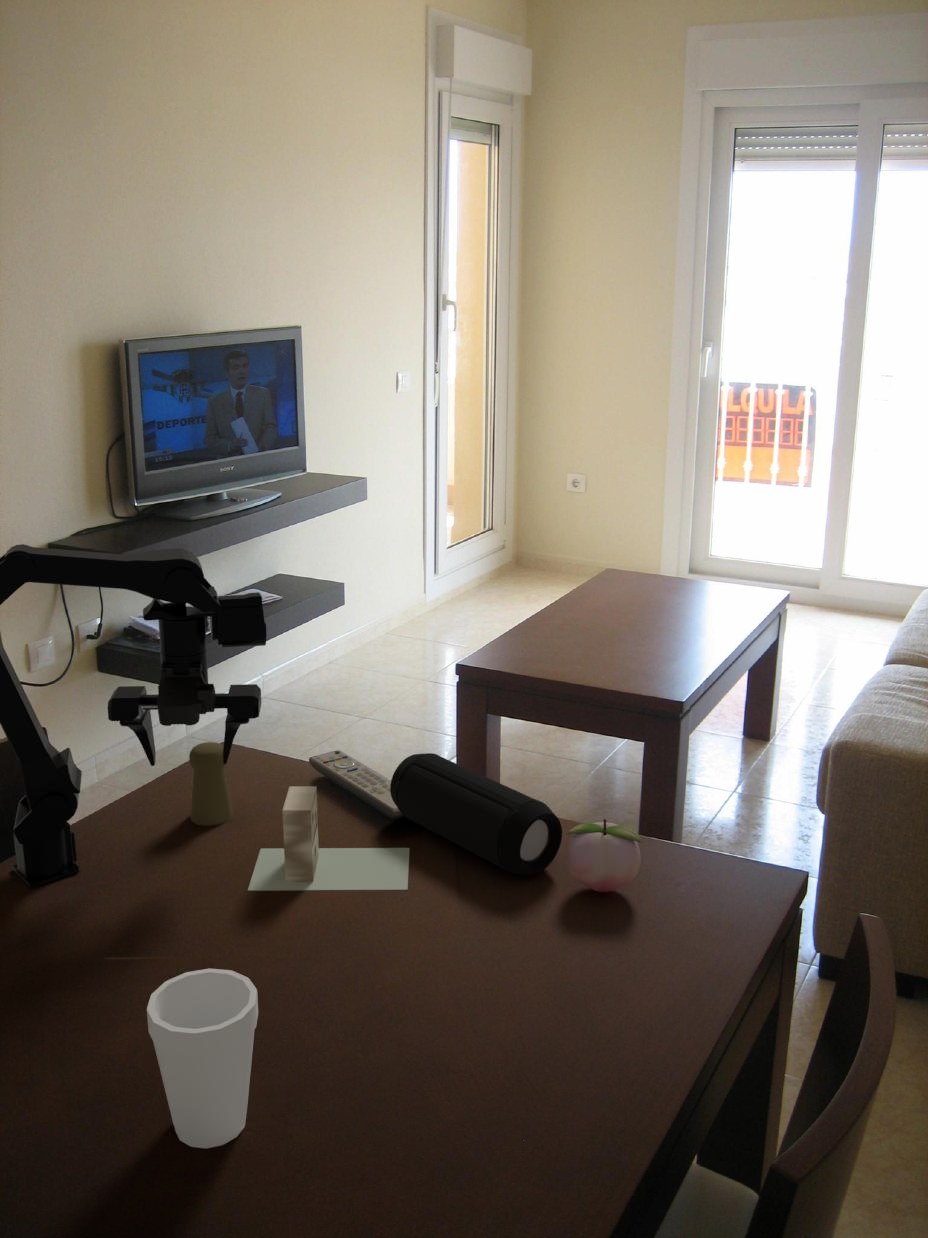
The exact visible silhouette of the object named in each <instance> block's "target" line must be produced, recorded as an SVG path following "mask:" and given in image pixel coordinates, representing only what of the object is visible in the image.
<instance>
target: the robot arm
mask: <svg viewBox="0 0 928 1238" xmlns="http://www.w3.org/2000/svg"><path fill="white" fill-rule="evenodd" d="M26 583H34V584H48V585H62V586H77V587H87V588H88V587H89V588H90V587H91V588H105V589H115V590H116V589H119V590H127V591H131V592H134V593H137V594H139V595H143V596H145V597H148V598H150V599H152V600H151V602H150V603H148V604H147V606H145V607H144V608H143V609H142V618H143V620H144V621H158V634H159V651H160V652H159V655H160V666H161V667H160V668H161V671H160V674H161V675H160V678H159V679H160V680H159V683H158V686H157V691H158V692H157V694H147V689H146V688H147V687H146V686H145V685H136V686H134V685H133V686H126V685H125V686H117V688H115V690H114V691H112V694H111V696H110V698H109V700H108V701H107V718H108V721H111V722H119V725H120V726H121V727H128V728H129V729H130V730H131V731H132V732H133V733H134V734H135V736H136V737H137V739H138V741H139V742H140V745H141V747H142V749H143V751H144V753H145V755H146V758H147V759H148V762H149V764H150V766H151V767H155V765H156V746H155V738H154V737H155V736H154V730H153V722H152V713H151V710H152V711H153V710H154V711H156V710H157V713H158V721H159V724H160V725H162V726H164V727H171V726H172V725H185V726H194V725H196V724H198V723H199V721H200V716H201V715H206V714H207V713H214V712H215V709H226V710H227V711H226V713H227V714H226V717H225V721H224V723H225V725H224V726H225V728H224V739H223V764H225V765H227V764H228V760H229V756H230V753H231V750H232V746H233V742H234V739H235V736H236V734H237V733H238V731H239V729H240V727H241V725H246V724H249V723H250V719H257V718H259V717H260V713H261V708H262V688H261V687H260V686H259V685H258V684H257V683H256V684H254V683H253V684H250V683H249V684H245V683H244V684H230V685H229V689H228V692H227V693H226V692H225V693H224V692H223V693H222V692H221V693H216V687H215V686H214V685H215V684H214V683H209V671H208V656H207V655H208V650H207V627H206V618H209V622H210V626H209V627H210V635H211V636H210V637H211V638H210V639H211V641H212V642H216V641H217V645H218V646H219V645H220V649H233V648H247V647H263V646H266V644H267V623H266V621H265V614H264V607H263V597H262V594H261V592H259V591H258V592H257V591H256V592H248V593H245V594H233V595H230V594H229V595H218V592H217V590H216V588H215V586H212V584H211V583H210V582H209V581H208V580H207V578H206V577H205V573H204V571H203V567H202V565H201V562H200V559H199V558H198V557H197V556H196V555H195V554H194V553H193V552H192V551H190V550H189V549H185V548H169V549H168V548H167V549H157V550H156V549H155V550H148V551H144V552H138V553H129V554H122V553H121V554H120V553H111V552H100V551H99V552H96V551H85V550H84V551H83V550H72V549H61V548H59V549H58V548H49V547H48V548H47V547H35V546H30V545H28V544H22V543H21V544H16V545H13V546H10V548H8V550H7V551H6V552H5V553H4V554H3V555H2V556H0V606H1V605H2V604H3V603H5V601H7V600H8V599H9V598H10V597H11V596H12V595H13V594H14V593H15V592H16V591H18V590H19V589H21V587H22V586H23V585H24V584H26ZM188 605H190V606H188ZM0 727H1V729H2V730H3V733H4V735H5V737H6V739H7V740H8V743H9V745H10V746H11V748H12V751H13V752H14V756H15V757H16V759H17V761H18V764H19V767H20V774H21V780H22V785H23V790H24V796H23V797H22V798H21V799H20V800H19V802H18V806H17V811H16V815H15V820H14V821H15V822H14V826H13V829H12V833H13V841H14V842H13V843H14V850H15V859H16V863H15V864H13V865H12V871H14V873H16V875H18V876H19V877H20V878H21V879H22V880H23V881H24V882H25V883H26V885H28V887H31V888H35V887H37V886H40V885H41V886H42V885H43V884H46V883H50V882H52V881H56V880H58V879H63V878H64V877H68V876H70V875H73V874H77V873H79V872H80V871H81V869H80V866H79V865H78V864H77V861H78V853H77V852H78V849H77V840H76V832H74V831H73V830H71V823H70V822H68V821H70V820H71V819H72V818H73V817H74V816H75V815H76V812H77V809H78V806H79V795H80V794H81V787H82V786H81V784H82V775H83V774H82V773H83V771H82V770H81V769H80V768H79V767H78V766H77V764H75V762H74V758H73V754H72V751H71V748H70V747H66V748H64V749H63V750H61V751H59V750H58V749H57V748H56V747H55V746H53V745H52V743H51V742H50V741H49V739H48V737H47V734H46V733H45V731H44V728H43V727H42V724H41V723H40V721H39V719H38V717H37V714H36V712H35V709H34V708H33V705H32V703H31V702H30V700H29V697H28V695H27V694H26V691H25V689H24V687H23V685H22V683H21V681H20V678H19V676H18V675H17V671H15V668H14V666H13V664H12V662H11V659H10V658H9V656H8V654H7V652H6V650H5V648H4V643H3V639H2V633H1V631H0Z"/></svg>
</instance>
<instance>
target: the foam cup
mask: <svg viewBox="0 0 928 1238" xmlns="http://www.w3.org/2000/svg"><path fill="white" fill-rule="evenodd" d="M258 998H259V997H258V989H257V988H256V986H255V984H253V982H252V981H251V979H250V978H249V977H247V976H245V975H243V974H241V973H238V972H237V971H234V970H232V969H231V970H230V969H219V968H209V967H208V968H205V969H197V970H193V971H185V972H184V973H182V974H179V975H176V976H175V977H172V978H169V979H168V980H165V981H164V982H163V983H162V984H161V985H160V986H159V987H158V988H156V989H155V990H154V991H153V992H151V994H150V998H149V1001H148V1004H147V1006H146V1016H147V1028H148V1029H147V1030H148V1034H149V1036H150V1038H151V1039H152V1042H153V1045H154V1050H155V1054H156V1059H157V1062H158V1067H159V1069H160V1070H159V1071H160V1075H161V1079H162V1083H163V1087H164V1091H165V1095H166V1101H167V1103H168V1108H169V1112H170V1115H171V1120H172V1124H173V1127H174V1131H175V1133H176V1135H177V1137H178V1140H179V1141H180V1142H182V1143H184V1144H186V1145H187V1146H189V1147H191V1148H199V1149H210V1148H216V1147H220V1146H223V1145H226V1144H227V1143H229V1142H230V1141H232V1140H234V1139H235V1138H237V1137H238V1136H239V1135H240V1134H241V1132H242V1131H243V1130H244V1129H245V1127H246V1121H247V1120H246V1119H247V1113H248V1112H247V1111H248V1104H249V1103H248V1102H249V1093H250V1082H251V1081H250V1079H251V1072H252V1071H251V1070H252V1062H253V1061H252V1059H253V1050H254V1049H253V1048H254V1039H255V1029H257V1023H258V1019H259V1018H258V1017H259V1000H258Z"/></svg>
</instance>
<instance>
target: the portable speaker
mask: <svg viewBox="0 0 928 1238" xmlns="http://www.w3.org/2000/svg"><path fill="white" fill-rule="evenodd" d="M389 788H390V793H389V794H390V797H391V799H392V801H393V803H394V804H395V806H396V807H397V809H398V811H399V812H400V813H401V815H402V816H403V817H404V818H406V819H408V820H410V821H412V822H414V823H416V824H417V825H419V826H422V827H423V828H426V829H427V830H429V831H431V832H433V833H435V834H436V835H438V836H441V837H442V838H444V839H446V840H448V841H450V842H452V843H454V844H456V845H458V846H460V847H461V848H463V849H465V850H467V851H469V852H471V853H473V854H475V855H476V856H479V857H481V858H483V859H484V860H486V861H488V862H490V863H491V864H493V865H496V866H498V867H500V868H501V869H504V870H505V871H506V872H509V873H511V874H514V875H536V874H539V873H541V872H543V871H545V869H547V868H548V867H549V866H550V865H551V863H552V862H553V861H554V859H555V858H556V856H557V855H558V852H559V850H560V847H561V845H562V844H561V843H562V841H563V840H562V839H563V828H562V823H561V821H560V819H559V818H558V817H557V815H556V814H555V813H554V812H553V811H552V809H551V808H550V807H549V806H548V805H547V804H546V803H544V802H543V801H540V800H539V799H535V798H533V797H531V796H529V795H526V794H524V793H522V792H520V791H518V790H516V789H513V788H511V787H509V786H507V785H504V784H503V783H500V782H498V781H496V780H494V779H492V778H489V777H487V776H485V775H482V774H481V773H477V772H476V771H473V770H471V769H469V768H466V767H465V766H462V765H460V764H458V763H456V762H454V761H451V760H448V759H447V758H444V757H443V756H441V755H439V754H436V753H433V752H432V753H429V752H428V753H414V754H411V755H409V756H407V757H406V758H404V759H403V760H402V761H401V762H400V763H399V764H398V766H397V767H396V768H395V771H393V775H392V777H391V780H390V786H389Z"/></svg>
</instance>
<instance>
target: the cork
mask: <svg viewBox="0 0 928 1238" xmlns="http://www.w3.org/2000/svg"><path fill="white" fill-rule="evenodd" d="M223 747H224V745H223V744H220V743H219V742H213V741H212V742H211V741H206V742H201V743H199V744H197V745H195V746H193V747H192V749H191V750H190V752H189V757H188V758H189V764H190V767H191V768H192V769H193V779H192V789H191V790H192V791H191V803H190V804H191V805H190V817H189V819H190V821H191V822H192V824H196V825H199V826H206V827H209V826H218V825H221V824H225V823H227V822H229V821H230V820H231V819H233V817H234V812H233V808H232V802H231V798H230V791H229V787H228V781H227V776H226V772H225V768H224V767H225V766H226V764H223Z"/></svg>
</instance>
